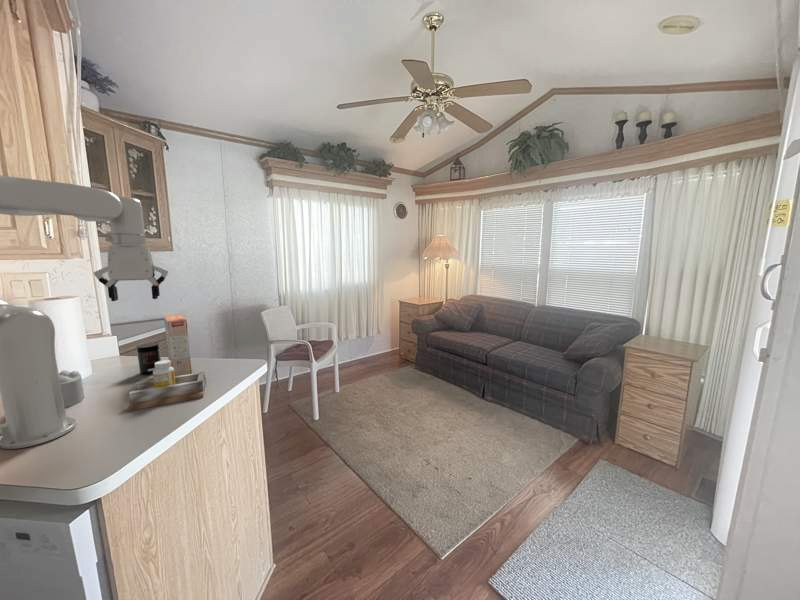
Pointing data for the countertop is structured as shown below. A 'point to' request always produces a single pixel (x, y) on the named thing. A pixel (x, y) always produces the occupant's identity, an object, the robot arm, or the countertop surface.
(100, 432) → the countertop surface
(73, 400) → the lumpy-topped squat cylinder
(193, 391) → the wooden tray
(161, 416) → the countertop surface
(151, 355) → the supplement container
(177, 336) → the cracker box
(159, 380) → the supplement bottle
